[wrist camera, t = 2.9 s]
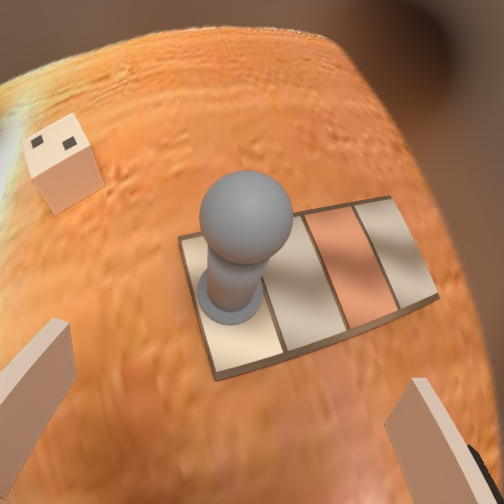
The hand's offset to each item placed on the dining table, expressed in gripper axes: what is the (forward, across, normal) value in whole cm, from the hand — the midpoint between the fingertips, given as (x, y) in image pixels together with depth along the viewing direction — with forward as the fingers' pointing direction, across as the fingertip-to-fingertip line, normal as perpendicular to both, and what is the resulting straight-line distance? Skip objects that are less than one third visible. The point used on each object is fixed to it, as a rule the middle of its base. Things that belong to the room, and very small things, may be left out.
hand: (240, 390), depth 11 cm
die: (+21, -19, +2) cm, 29 cm away
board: (+17, +7, -2) cm, 19 cm away
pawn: (+14, -1, -3) cm, 14 cm away
